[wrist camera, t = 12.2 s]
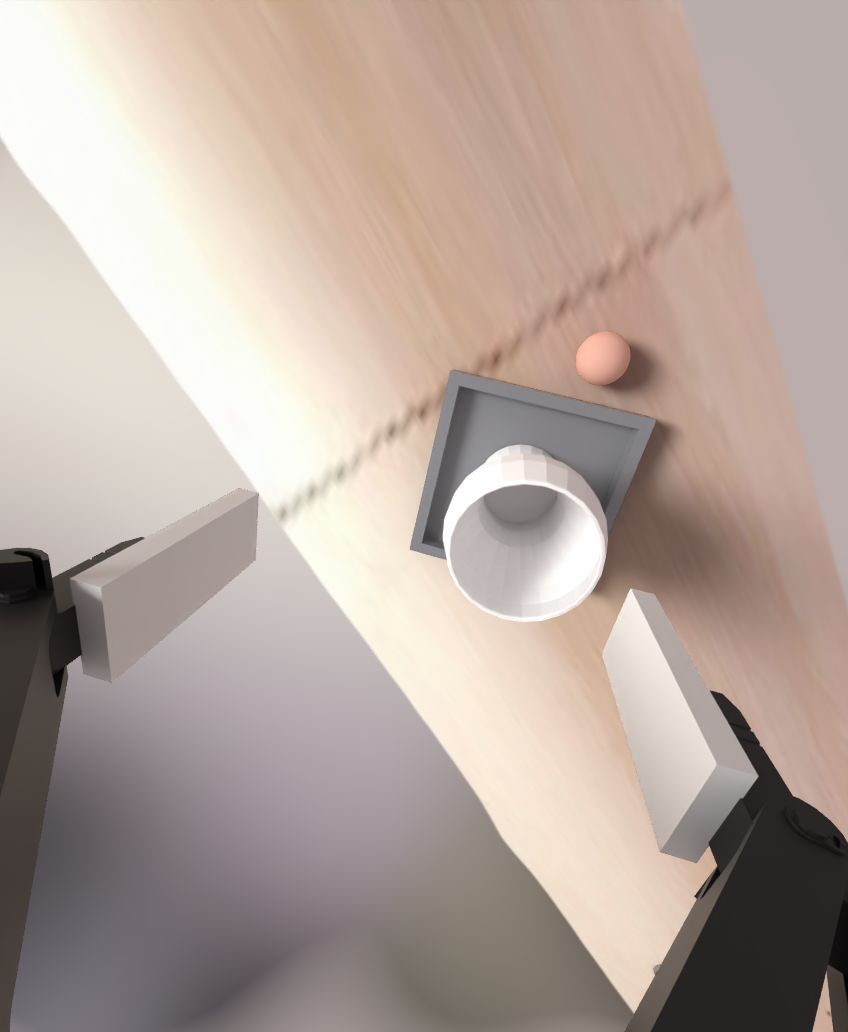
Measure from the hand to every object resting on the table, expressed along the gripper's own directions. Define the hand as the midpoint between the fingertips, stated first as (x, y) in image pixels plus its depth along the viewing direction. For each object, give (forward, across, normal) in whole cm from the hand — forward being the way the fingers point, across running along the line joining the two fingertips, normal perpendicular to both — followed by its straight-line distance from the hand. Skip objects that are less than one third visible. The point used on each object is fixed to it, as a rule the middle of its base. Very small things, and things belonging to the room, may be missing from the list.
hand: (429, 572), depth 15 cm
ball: (+27, +8, +8) cm, 30 cm away
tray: (+27, +5, -4) cm, 28 cm away
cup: (+27, +5, -4) cm, 27 cm away
